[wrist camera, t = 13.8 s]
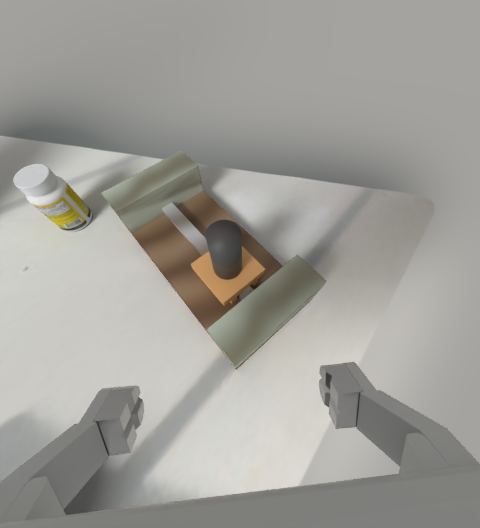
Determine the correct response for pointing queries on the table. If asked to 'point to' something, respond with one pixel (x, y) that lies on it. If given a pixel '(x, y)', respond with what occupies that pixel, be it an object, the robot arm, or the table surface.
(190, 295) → the rail board
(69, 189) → the supplement bottle
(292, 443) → the table surface
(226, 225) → the carriage
